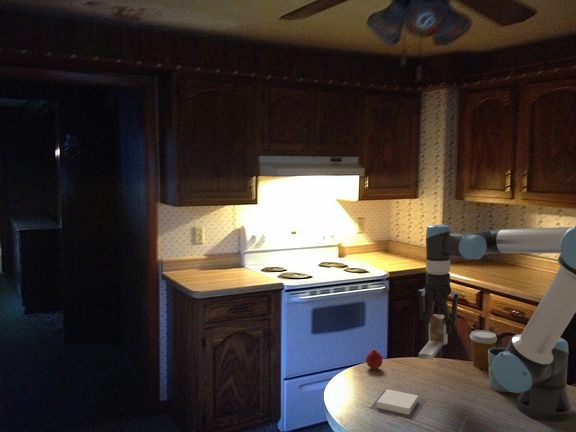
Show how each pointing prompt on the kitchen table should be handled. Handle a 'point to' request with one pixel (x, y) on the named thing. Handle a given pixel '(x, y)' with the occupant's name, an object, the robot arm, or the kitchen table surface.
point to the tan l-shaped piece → (434, 337)
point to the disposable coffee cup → (482, 347)
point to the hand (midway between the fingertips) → (438, 342)
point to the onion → (374, 359)
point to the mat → (412, 414)
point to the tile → (397, 402)
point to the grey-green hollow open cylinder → (492, 380)
